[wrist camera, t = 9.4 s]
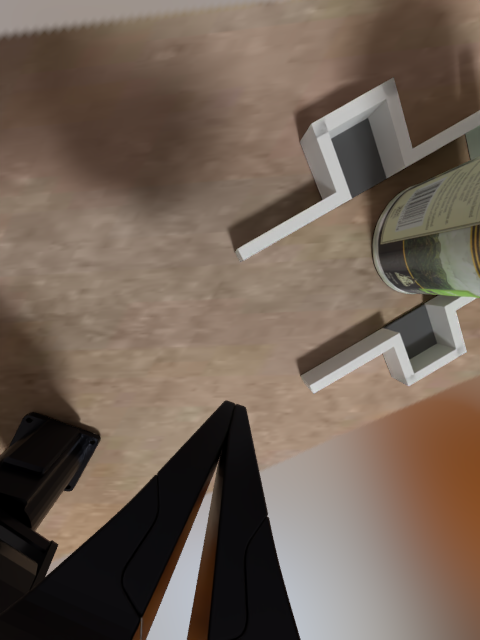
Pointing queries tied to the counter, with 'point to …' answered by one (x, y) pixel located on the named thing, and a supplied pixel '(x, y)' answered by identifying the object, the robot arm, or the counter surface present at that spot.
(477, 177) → the coffee can
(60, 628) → the robot arm
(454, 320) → the trap channel
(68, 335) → the counter surface
